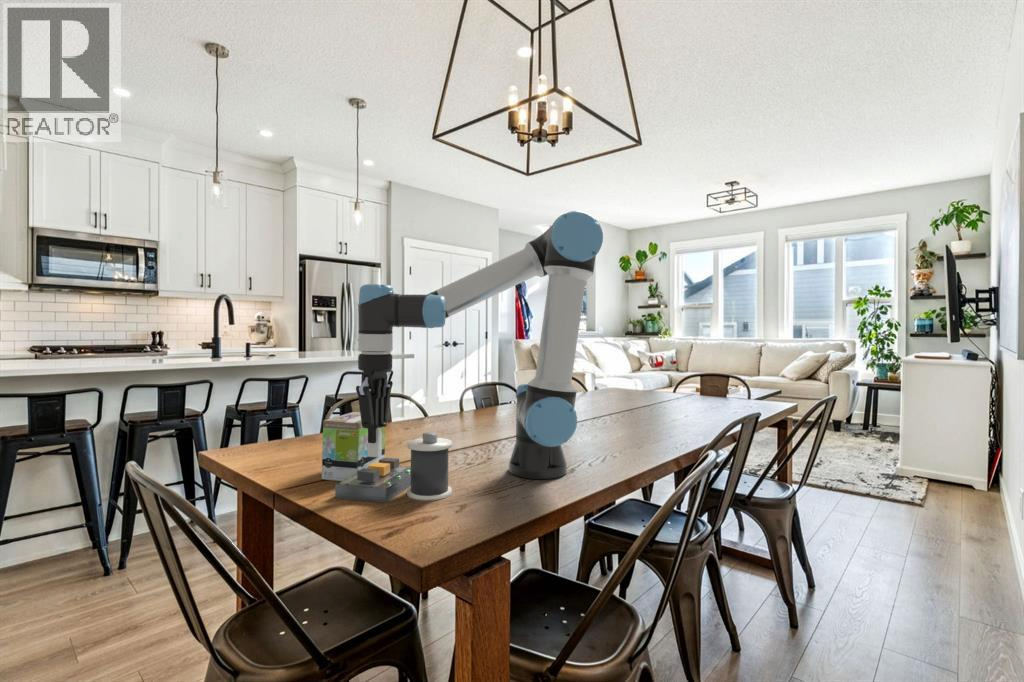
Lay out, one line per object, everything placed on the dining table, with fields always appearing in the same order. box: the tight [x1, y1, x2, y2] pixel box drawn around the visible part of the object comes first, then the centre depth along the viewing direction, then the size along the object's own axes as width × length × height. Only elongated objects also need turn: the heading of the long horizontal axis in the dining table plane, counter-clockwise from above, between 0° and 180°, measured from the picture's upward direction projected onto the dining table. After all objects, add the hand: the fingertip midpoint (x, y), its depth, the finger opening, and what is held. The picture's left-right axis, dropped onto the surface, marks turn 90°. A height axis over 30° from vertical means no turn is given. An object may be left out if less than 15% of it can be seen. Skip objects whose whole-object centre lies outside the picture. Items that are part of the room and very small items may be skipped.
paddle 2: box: [379, 457, 400, 470], centre depth 125 cm, size 4×3×2 cm, turn 77°
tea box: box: [321, 411, 387, 482], centre depth 132 cm, size 15×10×15 cm
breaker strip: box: [334, 466, 411, 504], centre depth 120 cm, size 12×17×3 cm
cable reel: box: [406, 431, 453, 502], centre depth 117 cm, size 10×10×14 cm
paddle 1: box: [357, 468, 379, 482], centre depth 115 cm, size 4×3×2 cm, turn 77°
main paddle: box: [368, 462, 390, 476], centre depth 120 cm, size 4×3×2 cm
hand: (374, 456), depth 118 cm, fingers closed
